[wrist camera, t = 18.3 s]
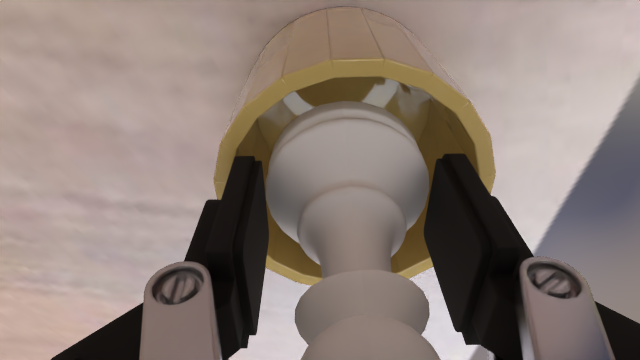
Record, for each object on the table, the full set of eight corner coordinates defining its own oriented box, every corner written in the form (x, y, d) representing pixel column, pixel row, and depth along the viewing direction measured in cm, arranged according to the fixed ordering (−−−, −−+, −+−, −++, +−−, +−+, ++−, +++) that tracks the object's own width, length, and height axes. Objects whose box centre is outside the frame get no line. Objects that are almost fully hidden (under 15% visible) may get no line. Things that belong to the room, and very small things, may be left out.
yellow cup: (214, 128, 19) (169, 224, 13) (317, -42, 15) (318, -15, 9) (359, 210, 22) (374, 319, 16) (477, 83, 18) (555, 165, 12)
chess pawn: (413, 221, 15) (515, 535, 7) (279, 228, 15) (245, 544, 8) (424, 92, 12) (606, 389, 5) (259, 103, 12) (173, 409, 5)
